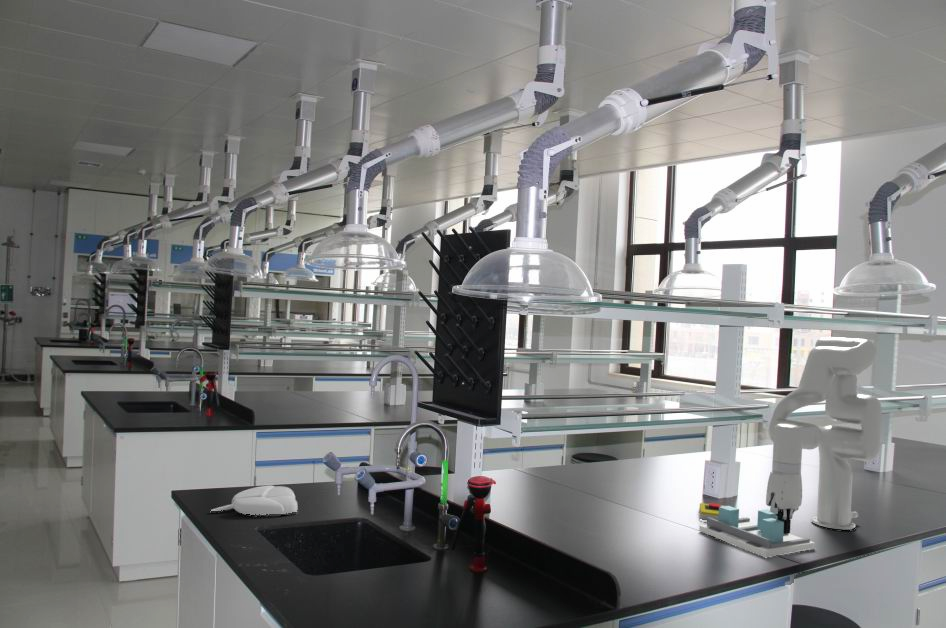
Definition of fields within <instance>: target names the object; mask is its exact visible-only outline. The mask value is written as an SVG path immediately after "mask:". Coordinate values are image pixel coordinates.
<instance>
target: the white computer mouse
mask: <svg viewBox="0 0 946 628" xmlns="http://www.w3.org/2000/svg"><path fill="white" fill-rule="evenodd" d="M232 509H234V510H235V511H236V512H238V513H239V514H241V513H242V515H246V514H250V515H249V516H251V515H255V514H256V515H259V514H260V515H266V514H268V515H269V514H286V513H287V514H288V513H292V512H297V513H298V511H299V508H298V501H297V500H296V495H295V492H294V490H292V489H291V488H290V487H287V486H282V485H280V486H279V485H278V486H274V485H263V486H256V487H255V486H254V487H251V488H248V489H245V490H242V491H240V492H238V493H237V494H234V496H233V497H232V499H231V504H226V505H223V506H219V507H216V508H213V509H210V510H211V511H221V510H222V511H221V512H223V510H225V511H229V510H232ZM297 510H298V511H297ZM211 511H210V512H211Z"/></svg>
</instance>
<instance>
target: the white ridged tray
mask: <svg viewBox="0 0 946 628" xmlns="http://www.w3.org/2000/svg"><path fill="white" fill-rule="evenodd" d="M757 523H758V521H754V520H751V518H749V517H741V518H740V517H739V522H738V528H737V527H734V526H731V525H729V524H726V523H723V522H720V521H718V520H715V519H712V518H707V523H705V524H700V525H699V530H698V532H699V531H701V532H704V533H706V534H709V535H711V536H714V537H716V538H718V539H721V540H723V541H726V542H729V543H731V544H734V545H736V546H738V547H740V548H739V549H741V548H743V549H746V550H748V551H751V552H754V553H757V554H759V555H762V556H764V557H769V556H776V555H780V554H784V553H789V552H795V551H798V550H803V549H808V548H813V547H816V546H815V544H816V542H814V541H811V540H810V538H807V537H804V538H803V537H801V536H797V535H794V534H791V533H787V534H784V533H783V542H777V543H771V540H770V539H767V538H764V537H762V536H761V535H762V531H761V530H758V529H757ZM716 538H715V539H716ZM718 539H717V540H718ZM721 540H720V541H721ZM723 541H722V542H723ZM726 542H725V543H726ZM731 544H730V545H731ZM736 546H735V547H736ZM738 547H737V548H738ZM743 549H742V550H743ZM746 550H745V551H746ZM748 551H747V552H748ZM751 552H750V553H751ZM754 553H753V554H754ZM759 555H758V556H759ZM764 557H763V558H764ZM776 557H777V556H776Z"/></svg>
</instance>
